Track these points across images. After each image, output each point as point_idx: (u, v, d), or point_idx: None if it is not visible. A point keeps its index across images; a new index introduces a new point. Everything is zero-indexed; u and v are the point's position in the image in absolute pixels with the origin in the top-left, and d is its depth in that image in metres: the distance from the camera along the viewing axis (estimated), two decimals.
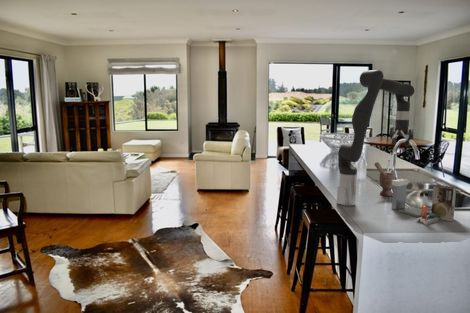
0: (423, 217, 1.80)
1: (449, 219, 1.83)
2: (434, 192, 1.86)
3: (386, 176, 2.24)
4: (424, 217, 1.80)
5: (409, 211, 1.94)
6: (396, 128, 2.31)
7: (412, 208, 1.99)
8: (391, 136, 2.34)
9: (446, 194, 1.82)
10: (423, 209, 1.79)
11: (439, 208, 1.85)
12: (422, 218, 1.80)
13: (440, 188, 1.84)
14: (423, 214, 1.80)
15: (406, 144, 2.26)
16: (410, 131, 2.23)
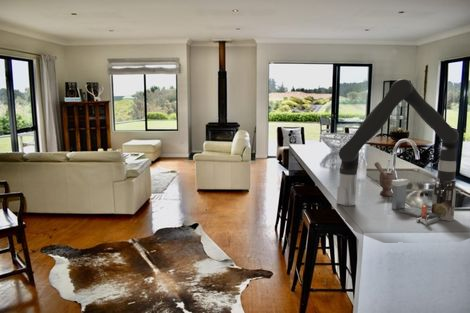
0: (423, 217, 1.80)
1: (449, 219, 1.83)
2: None
3: (386, 176, 2.24)
4: (424, 217, 1.80)
5: (409, 211, 1.94)
6: (444, 182, 1.82)
7: (412, 208, 1.99)
8: None
9: (446, 194, 1.82)
10: (423, 209, 1.79)
11: (439, 208, 1.85)
12: (422, 218, 1.80)
13: None
14: (423, 214, 1.80)
15: None
16: (455, 182, 1.87)
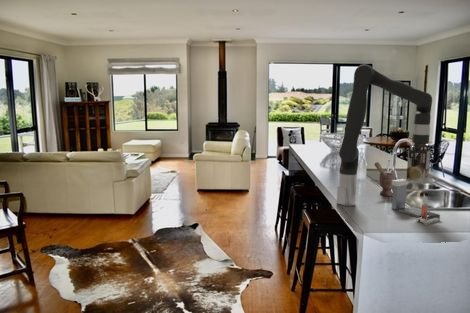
0: (423, 217, 1.80)
1: (423, 181, 1.88)
2: None
3: (386, 176, 2.24)
4: (424, 217, 1.80)
5: (409, 211, 1.94)
6: (418, 145, 1.87)
7: (412, 208, 1.99)
8: None
9: (420, 157, 1.87)
10: (423, 209, 1.79)
11: (414, 171, 1.90)
12: (422, 218, 1.80)
13: (415, 151, 1.89)
14: (423, 214, 1.80)
15: None
16: None
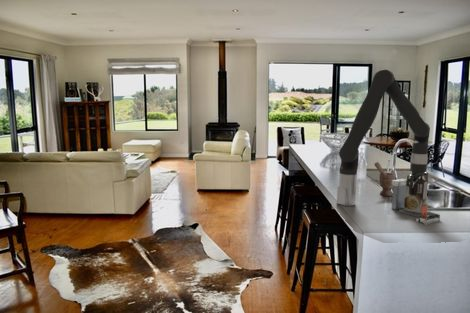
0: (423, 217, 1.80)
1: (420, 211, 1.90)
2: None
3: (386, 176, 2.24)
4: (424, 217, 1.80)
5: (409, 211, 1.94)
6: (416, 174, 1.90)
7: None
8: (411, 185, 1.89)
9: (417, 188, 1.90)
10: (423, 209, 1.79)
11: (411, 201, 1.93)
12: (422, 218, 1.80)
13: None
14: (423, 214, 1.80)
15: None
16: (427, 174, 1.95)
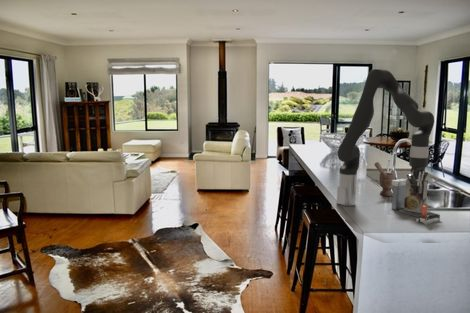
0: (423, 217, 1.80)
1: (420, 211, 1.90)
2: (406, 185, 1.93)
3: (386, 176, 2.24)
4: (424, 217, 1.80)
5: (409, 211, 1.94)
6: (415, 170, 1.70)
7: None
8: None
9: None
10: (423, 209, 1.79)
11: (411, 201, 1.93)
12: (422, 218, 1.80)
13: None
14: (423, 214, 1.80)
15: (419, 190, 1.74)
16: None
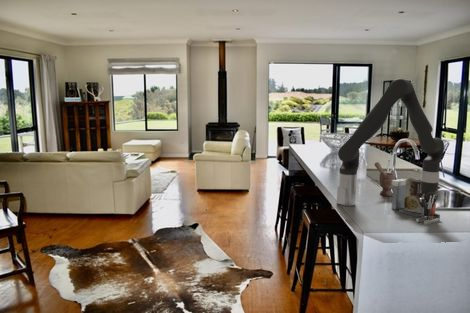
0: (431, 215, 1.83)
1: (420, 211, 1.90)
2: (406, 185, 1.93)
3: (386, 176, 2.24)
4: (432, 215, 1.83)
5: (409, 211, 1.94)
6: (426, 194, 1.77)
7: None
8: (426, 206, 1.79)
9: (417, 188, 1.90)
10: None
11: (411, 201, 1.93)
12: (430, 216, 1.84)
13: (412, 182, 1.91)
14: (431, 212, 1.83)
15: (429, 213, 1.81)
16: None
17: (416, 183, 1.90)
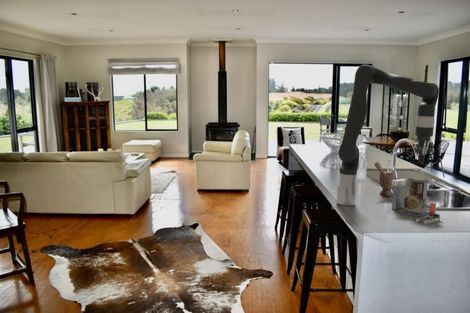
0: (431, 215, 1.83)
1: (420, 211, 1.90)
2: (406, 185, 1.93)
3: (386, 176, 2.24)
4: (432, 215, 1.83)
5: (409, 211, 1.94)
6: (421, 139, 1.77)
7: None
8: None
9: (417, 188, 1.90)
10: (432, 207, 1.83)
11: (411, 201, 1.93)
12: (430, 216, 1.84)
13: (412, 182, 1.91)
14: (431, 212, 1.83)
15: (424, 159, 1.81)
16: None
17: (416, 183, 1.90)
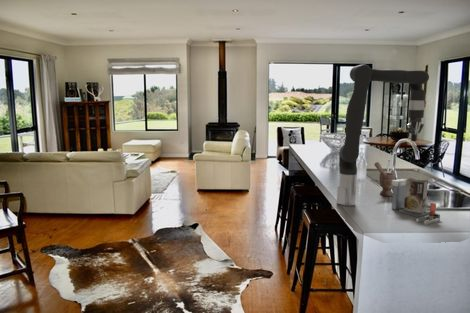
0: (431, 215, 1.83)
1: (420, 211, 1.90)
2: (406, 185, 1.93)
3: (386, 176, 2.24)
4: (432, 215, 1.83)
5: (409, 211, 1.94)
6: (413, 120, 2.02)
7: None
8: (413, 132, 2.04)
9: (417, 188, 1.90)
10: (432, 207, 1.83)
11: (411, 201, 1.93)
12: (430, 216, 1.84)
13: (412, 182, 1.91)
14: (431, 212, 1.83)
15: (416, 138, 2.06)
16: None
17: (416, 183, 1.90)
